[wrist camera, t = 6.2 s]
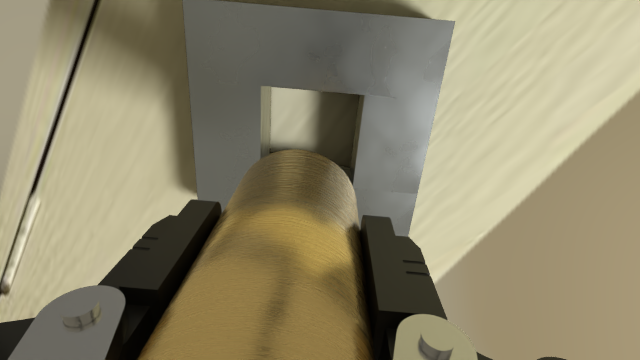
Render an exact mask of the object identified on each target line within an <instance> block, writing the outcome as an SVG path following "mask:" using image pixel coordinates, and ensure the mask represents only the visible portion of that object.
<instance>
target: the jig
mask: <svg viewBox="0 0 640 360" xmlns="http://www.w3.org/2000/svg"><path fill="white" fill-rule="evenodd" d="M182 1H183V14H184V27H185V40H186V53H187V66H188V80H189V93H190V106H191V119H192V132H193V145H194V158H195V171H196V184H197V197H198V200H204V201H216V202H219V203H220V204H221V209H222V213H223V211H224V209H225V208H226V206H227V204H228V202H229V201H230V199H231V197H232V196H233V194H234V192H235V190H236V189H237V187H238V185H239V184H240V182H241V180H242V178H243V177H244V175H245V174H246V172H247V171H248V170H249V168H250V167H251V166H252V165H253V164H254V163H256V162H257V161H258V160H260V159H261V158H263V157H265V156H267V155H269V154H270V127H271V87H280V88H292V89H303V90H314V91H326V92H337V93H349V94H359V102H358V110H357V118H356V126H355V134H354V142H353V150H352V158H351V166H350V167H341V166H339V167H340V168H341V169H342V170H343V171H344V172H345V174H346V175H347V176H348V178H349V180H350V181H351V183H352V186H353V188H354V191H355V195H356V202H357V210H358V219H359V227H361V220H362V217H363V215H371V216H383V217H390V219H391V222H392V225H393V229H394V232H395V235H396V236H407V237H408V234H409V230H410V225H411V221H412V216H413V211H414V207H415V202H416V198H417V193H418V189H419V184H420V179H421V175H422V170H423V166H424V161H425V157H426V152H427V148H428V143H429V138H430V134H431V129H432V125H433V120H434V116H435V111H436V107H437V102H438V97H439V93H440V88H441V84H442V79H443V75H444V70H445V66H446V61H447V56H448V52H449V47H450V43H451V38H452V34H453V29H454V24H455V21H448V20H436V19H424V18H413V17H401V16H390V15H378V14H367V13H355V12H344V11H332V10H321V9H309V8H298V7H286V6H274V5H263V4H251V3H240V2H228V1H217V0H182Z"/></svg>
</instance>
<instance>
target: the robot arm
mask: <svg viewBox="0 0 640 360" xmlns="http://www.w3.org/2000/svg"><path fill="white" fill-rule="evenodd" d="M221 214H222V209H221V204H220V203H219V202H216V201H204V200H190V201H189V202H188V204H187V205H186V206H185V207H184V208H183V210H182V211H181V212H180V213H179V214H178V216H172V215H169V216H167V217H166V218H164V219H162V220H160V221H159V222H157V223H155V224H153V225H152V226H151V227H150V228H149V229H148V231H147V232H146V233H145V234H144V235H143V236H142V239H139V240H138V241H137V243H136V244H135V245H134V246H133V249H130V250H129V251H128V252H127V253H126V255H125V256H124V257H123V258H122V259H121V260H120V261H119V262H118V263H117V264H116V265H115V267H114V268H113V269H112V270H111V271H110V272H109V273H108V274H107V275H106V276H105V278H104V279H103V280H102V281H101V282H100V283H99V284H98V285H97V286H88V287H83V288H79V289H76V290H73V291H71V292H68V293H66V294H64V295H62V296H60V297H58V298H56V299H55V300H53V301H52V302H50V303H49V304H48V305H46V306H45V307H44V308H43V309H42V310H41V311H40V312H39V313H38V315H37V316H36V317H35V318H30V319H24V320H17V321H10V322H3V323H0V360H137V358H138V356H139V355H140V353H141V351H142V349H143V348H144V346H145V344H146V343H147V341H148V339H149V337H150V336H151V334H152V332H153V331H154V329H155V327H156V326H157V324H158V322H159V320H160V319H161V317H162V315H163V314H164V312H165V310H166V308H167V307H168V305H169V303H170V302H171V300H172V298H173V296H174V295H175V293H176V291H177V290H178V288H179V286H180V284H181V283H182V281H183V279H184V278H185V276H186V274H187V272H188V271H189V269H190V267H191V266H192V264H193V262H194V261H195V259H196V257H197V255H198V254H199V252H200V250H201V249H202V247H203V245H204V243H205V242H206V240H207V238H208V237H209V235H210V233H211V231H212V230H213V228H214V226H215V225H216V223H217V221H218V219H219V218H220V216H221ZM360 236H361V244H362V253H363V261H364V270H365V278H366V287H367V295H368V304H369V312H370V321H371V329H372V338H373V347H374V355H375V360H492V359H490V358H488V357H485V356H483V355H481V354H479V353H478V352H476V350H475V347H474V345H473V343H472V342H471V340H470V338H469V337H468V336H467V335H466V334H465V333H464V332H463V331H462V330H461V329H460V328H458V327H457V326H456V325H454V324H453V323H451V322H449V321H448V320H447V317H446V315H445V312H444V309H443V307H442V304H441V302H440V299H439V296H438V294H437V291H436V289H435V286H434V283H433V281H432V278H431V276H430V273H429V270H428V268H427V265H425V260H424V257H423V255H422V252H421V249H420V248H419V247H418V246H417V245H416V244H415V243H414V242H413V241H412V240H411V239H410V238H409V237H407V236H396V235H395V232H394V229H393V225H392V222H391V219H390V217H383V216H371V215H363V217H362V220H361V227H360ZM537 360H566V359H562V358H557V357H544V358H540V359H537Z"/></svg>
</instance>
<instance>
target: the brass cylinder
mask: <svg viewBox="0 0 640 360" xmlns="http://www.w3.org/2000/svg"><path fill="white" fill-rule="evenodd" d="M137 360H375V355H374V347H373V338H372V329H371V321H370V312H369V304H368V295H367V287H366V278H365V270H364V261H363V253H362V244H361V236H360V227H359V219H358V210H357V202H356V195H355V191H354V188H353V186H352V183H351V181H350V180H349V178H348V176H347V175H346V174H345V172H344V171H343V170H342V169H341V168H340V167H339V166H338V165H337V164H335V163H334V162H333V161H331V160H330V159H328V158H326V157H324V156H322V155H320V154H317V153H314V152H310V151H306V150H293V149H291V150H282V151H278V152H274V153H272V154H269V155H267V156H265V157H263V158H261V159H260V160H258V161H257V162H256V163H254V164H253V165H252V166H251V167H250V168H249V170H248V171H247V172H246V174H245V175H244V177H243V178H242V180H241V182H240V184H239V185H238V187H237V189H236V190H235V192H234V194H233V196H232V197H231V199H230V201H229V202H228V204H227V206H226V208H225V209H224V211H223V213H222V214H221V216H220V218H219V219H218V221H217V223H216V225H215V226H214V228H213V230H212V231H211V233H210V235H209V237H208V238H207V240H206V242H205V243H204V245H203V247H202V249H201V250H200V252H199V254H198V255H197V257H196V259H195V261H194V262H193V264H192V266H191V267H190V269H189V271H188V272H187V274H186V276H185V278H184V279H183V281H182V283H181V284H180V286H179V288H178V290H177V291H176V293H175V295H174V296H173V298H172V300H171V302H170V303H169V305H168V307H167V308H166V310H165V312H164V314H163V315H162V317H161V319H160V320H159V322H158V324H157V326H156V327H155V329H154V331H153V332H152V334H151V336H150V337H149V339H148V341H147V343H146V344H145V346H144V348H143V349H142V351H141V353H140V355H139V356H138V358H137Z"/></svg>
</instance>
